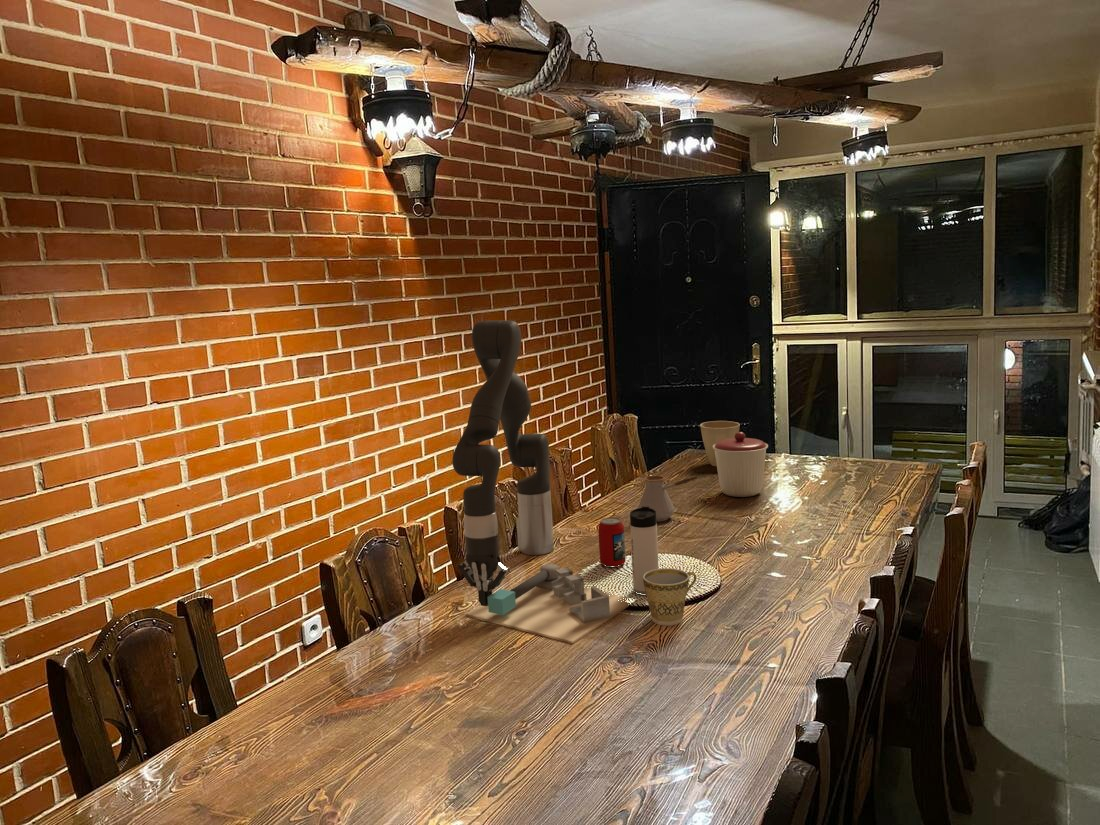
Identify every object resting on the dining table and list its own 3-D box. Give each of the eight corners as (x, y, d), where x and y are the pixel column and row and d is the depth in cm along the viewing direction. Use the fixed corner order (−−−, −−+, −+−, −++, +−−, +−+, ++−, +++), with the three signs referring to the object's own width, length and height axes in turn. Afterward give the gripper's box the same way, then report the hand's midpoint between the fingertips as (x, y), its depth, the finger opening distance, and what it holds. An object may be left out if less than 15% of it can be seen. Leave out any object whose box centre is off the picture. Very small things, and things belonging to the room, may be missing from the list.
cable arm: (547, 574, 204) (546, 560, 204) (562, 577, 202) (561, 563, 202) (487, 612, 183) (486, 596, 183) (504, 615, 181) (502, 599, 181)
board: (465, 615, 188) (464, 605, 187) (534, 579, 208) (534, 569, 208) (572, 643, 170) (572, 632, 169) (636, 600, 190) (636, 590, 190)
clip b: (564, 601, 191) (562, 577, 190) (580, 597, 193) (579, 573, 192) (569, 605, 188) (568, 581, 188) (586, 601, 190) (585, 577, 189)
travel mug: (662, 586, 198) (658, 506, 195) (656, 596, 192) (653, 514, 189) (636, 584, 200) (633, 505, 197) (630, 595, 194) (626, 513, 191)
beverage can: (624, 568, 211) (622, 524, 210) (598, 568, 213) (596, 524, 211) (627, 559, 218) (625, 516, 216) (602, 559, 219) (599, 516, 217)
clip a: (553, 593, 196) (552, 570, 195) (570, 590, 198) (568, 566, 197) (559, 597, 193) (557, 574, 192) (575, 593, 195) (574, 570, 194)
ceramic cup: (662, 633, 172) (660, 588, 171) (635, 617, 181) (633, 574, 179) (711, 618, 178) (709, 574, 176) (683, 604, 187) (681, 562, 185)
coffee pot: (630, 520, 253) (628, 473, 250) (649, 511, 262) (647, 465, 259) (693, 530, 240) (691, 480, 237) (710, 519, 249) (709, 471, 246)
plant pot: (701, 469, 312) (700, 428, 310) (701, 460, 327) (699, 421, 324) (741, 468, 310) (740, 427, 307) (739, 459, 324) (738, 420, 322)
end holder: (569, 612, 185) (568, 591, 184) (595, 605, 187) (594, 585, 187) (584, 623, 178) (582, 602, 177) (610, 617, 181) (609, 596, 180)
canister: (776, 489, 278) (774, 428, 275) (758, 502, 263) (757, 438, 260) (725, 484, 288) (723, 426, 285) (705, 497, 273) (703, 435, 270)
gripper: (447, 533, 183) (452, 607, 186) (498, 539, 177) (502, 615, 180) (465, 524, 190) (470, 595, 193) (515, 529, 184) (519, 602, 187)
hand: (485, 604), depth 186 cm, fingers closed
